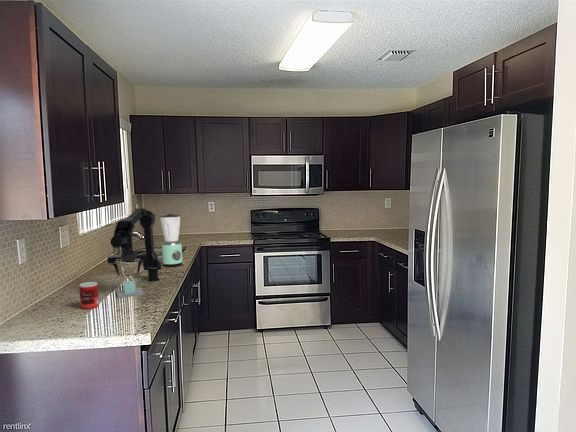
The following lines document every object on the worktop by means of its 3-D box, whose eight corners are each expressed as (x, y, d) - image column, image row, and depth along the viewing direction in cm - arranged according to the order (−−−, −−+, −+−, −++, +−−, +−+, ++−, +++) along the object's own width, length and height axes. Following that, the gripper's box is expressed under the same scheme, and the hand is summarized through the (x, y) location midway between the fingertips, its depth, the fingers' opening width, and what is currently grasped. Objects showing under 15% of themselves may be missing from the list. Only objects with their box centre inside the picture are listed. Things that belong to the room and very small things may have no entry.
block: (124, 291, 211) (123, 281, 210) (134, 289, 213) (134, 280, 212) (124, 293, 206) (124, 283, 206) (135, 292, 208) (134, 282, 208)
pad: (117, 292, 213) (117, 290, 213) (141, 289, 218) (141, 287, 217) (117, 298, 202) (117, 296, 202) (143, 294, 207) (143, 292, 207)
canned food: (94, 303, 194) (92, 280, 193) (102, 306, 189) (100, 283, 188) (77, 307, 188) (75, 284, 187) (85, 310, 183) (83, 286, 182)
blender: (188, 265, 276) (185, 214, 273) (169, 268, 267) (166, 215, 264) (174, 261, 290) (171, 212, 287) (156, 264, 281) (153, 214, 278)
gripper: (106, 248, 196) (108, 280, 197) (147, 245, 204) (149, 275, 205) (106, 245, 206) (108, 275, 208) (145, 242, 214) (147, 271, 215)
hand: (128, 274), depth 209 cm, fingers open, 9 cm apart
